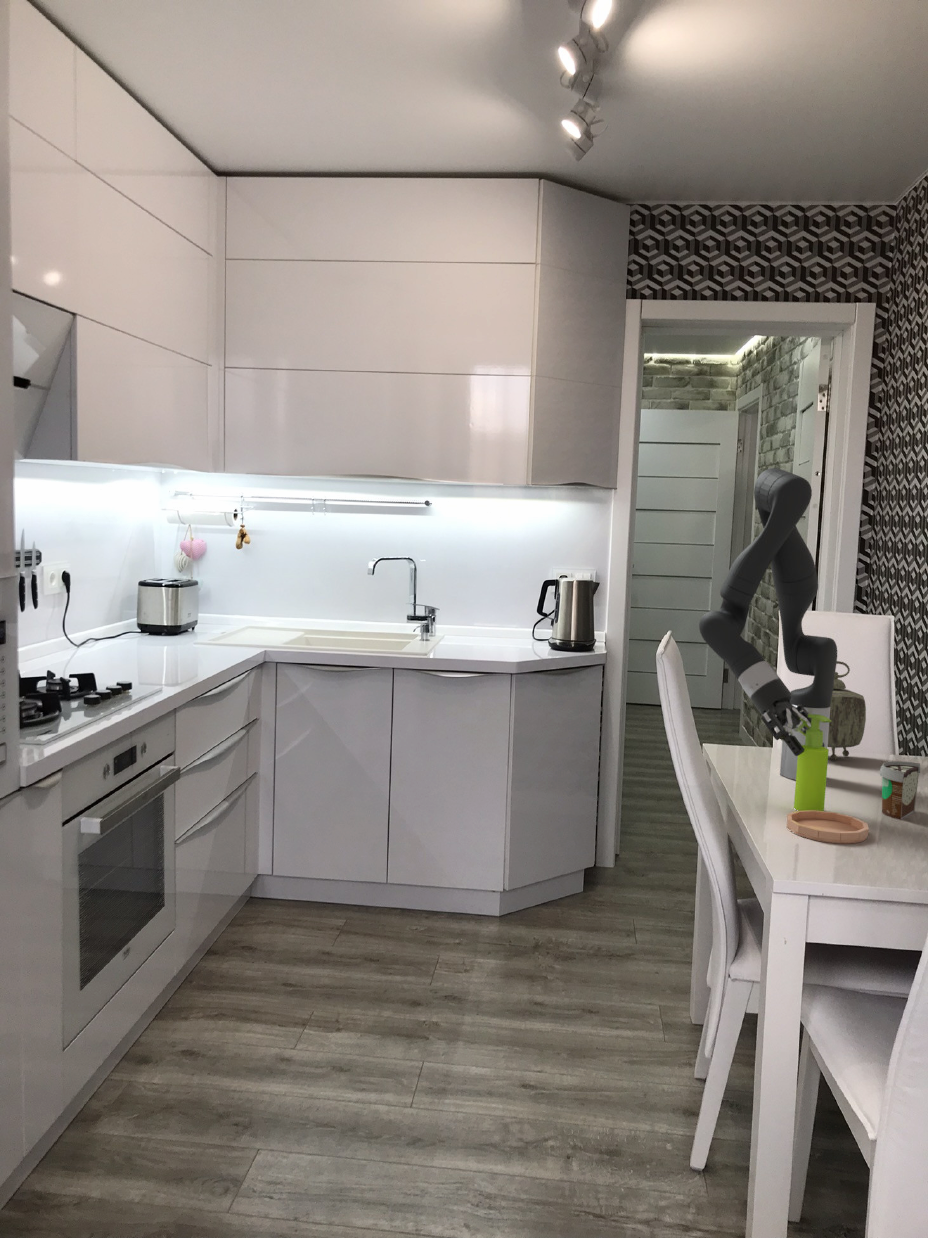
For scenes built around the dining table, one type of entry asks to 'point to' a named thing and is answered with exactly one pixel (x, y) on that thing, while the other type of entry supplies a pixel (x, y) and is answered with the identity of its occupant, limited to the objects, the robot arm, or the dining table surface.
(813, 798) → the soap dispenser
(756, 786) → the dining table surface
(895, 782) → the food container
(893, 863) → the dining table surface
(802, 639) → the robot arm
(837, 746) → the tabletop clock
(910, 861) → the dining table surface
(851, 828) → the terracotta dish
